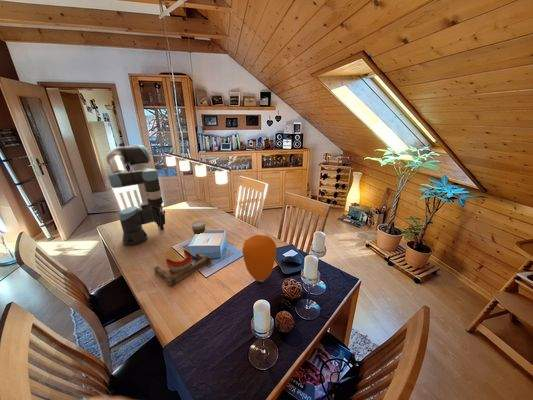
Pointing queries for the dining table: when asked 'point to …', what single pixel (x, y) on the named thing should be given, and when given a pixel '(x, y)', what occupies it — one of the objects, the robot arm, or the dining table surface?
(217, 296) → the dining table surface
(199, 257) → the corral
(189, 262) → the toy
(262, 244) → the orange egg-shaped ornament
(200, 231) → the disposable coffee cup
